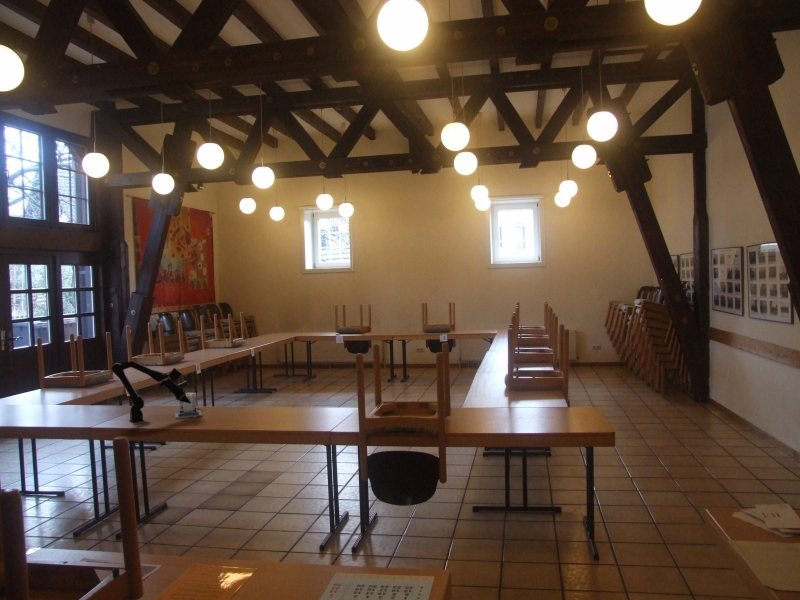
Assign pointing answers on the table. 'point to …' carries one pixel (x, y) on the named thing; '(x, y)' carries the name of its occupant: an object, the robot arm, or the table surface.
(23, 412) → the table surface
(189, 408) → the block
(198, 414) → the dock
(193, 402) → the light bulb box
